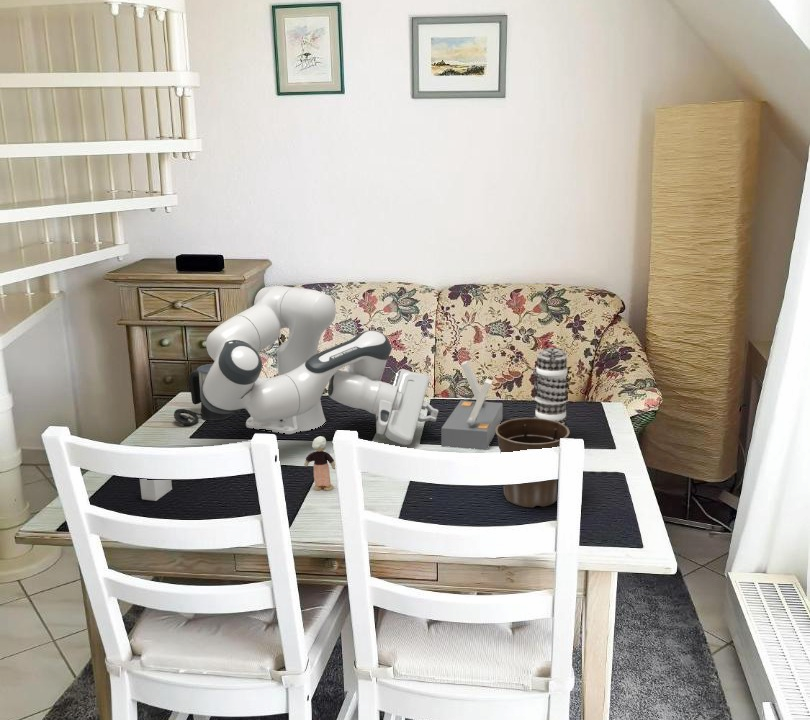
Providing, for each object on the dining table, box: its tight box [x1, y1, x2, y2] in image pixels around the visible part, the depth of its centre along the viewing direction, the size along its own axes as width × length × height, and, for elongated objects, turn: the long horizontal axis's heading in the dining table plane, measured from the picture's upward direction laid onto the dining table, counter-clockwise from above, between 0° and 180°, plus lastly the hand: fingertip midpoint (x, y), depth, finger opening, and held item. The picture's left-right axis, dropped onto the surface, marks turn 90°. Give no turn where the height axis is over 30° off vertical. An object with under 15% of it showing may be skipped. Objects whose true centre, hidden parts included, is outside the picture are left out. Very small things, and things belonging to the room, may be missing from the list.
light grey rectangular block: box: [139, 478, 173, 502], centre depth 202 cm, size 4×7×10 cm, turn 162°
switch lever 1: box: [460, 360, 487, 405], centre depth 244 cm, size 2×4×13 cm, turn 164°
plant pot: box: [495, 417, 570, 509], centre depth 195 cm, size 16×16×16 cm
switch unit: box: [440, 400, 504, 450], centre depth 238 cm, size 12×24×5 cm, turn 164°
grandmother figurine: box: [303, 435, 336, 491], centre depth 203 cm, size 8×4×13 cm, turn 89°
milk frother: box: [173, 363, 234, 426], centre depth 252 cm, size 14×16×15 cm
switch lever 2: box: [467, 378, 493, 426], centre depth 227 cm, size 2×4×13 cm, turn 164°
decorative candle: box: [533, 347, 571, 427], centre depth 227 cm, size 9×9×25 cm
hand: (437, 416), depth 232 cm, fingers closed
